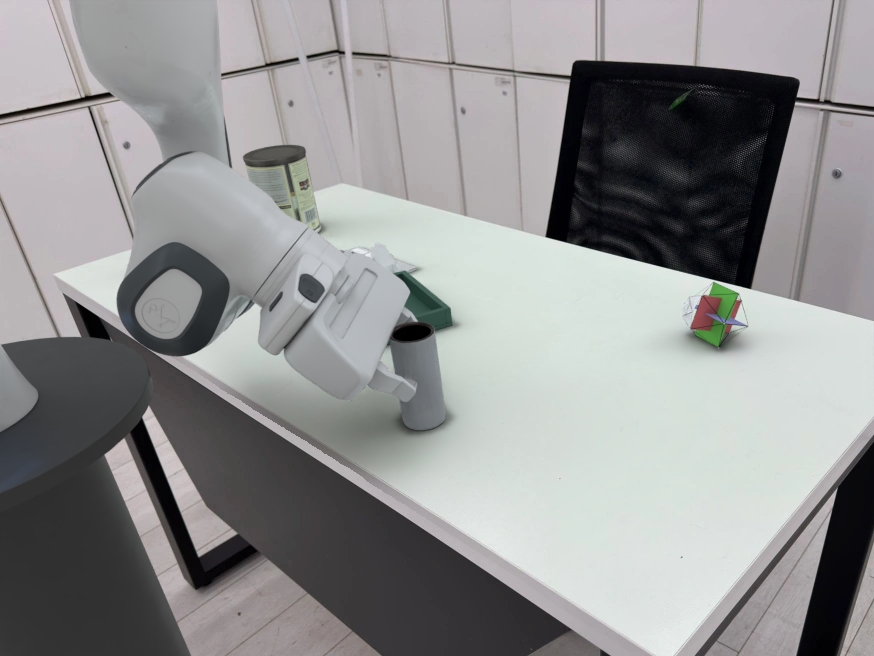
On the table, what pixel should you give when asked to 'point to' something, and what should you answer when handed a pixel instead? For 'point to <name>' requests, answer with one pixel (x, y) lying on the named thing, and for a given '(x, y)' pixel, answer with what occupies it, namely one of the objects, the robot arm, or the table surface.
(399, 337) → the planter
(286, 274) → the robot arm
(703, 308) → the geometric puzzle
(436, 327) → the tray
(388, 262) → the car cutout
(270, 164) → the coffee can
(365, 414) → the table surface
